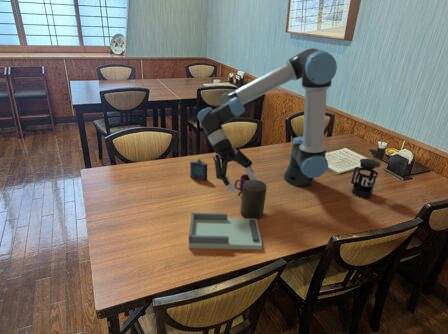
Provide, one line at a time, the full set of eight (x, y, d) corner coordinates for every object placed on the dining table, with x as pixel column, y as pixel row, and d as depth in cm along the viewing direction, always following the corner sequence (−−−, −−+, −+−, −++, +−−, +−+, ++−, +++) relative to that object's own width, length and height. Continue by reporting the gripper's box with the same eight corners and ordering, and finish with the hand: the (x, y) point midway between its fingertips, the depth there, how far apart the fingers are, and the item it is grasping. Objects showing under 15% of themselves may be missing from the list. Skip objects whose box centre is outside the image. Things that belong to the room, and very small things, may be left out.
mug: (255, 192, 146) (257, 179, 143) (236, 195, 143) (237, 182, 140) (250, 185, 152) (251, 173, 149) (231, 188, 149) (232, 175, 146)
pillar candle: (256, 222, 124) (261, 190, 118) (236, 214, 129) (239, 183, 122) (266, 212, 132) (271, 181, 125) (246, 204, 136) (250, 174, 130)
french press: (377, 196, 149) (390, 152, 139) (365, 201, 144) (378, 156, 134) (356, 185, 158) (367, 144, 148) (344, 189, 153) (355, 147, 143)
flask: (189, 177, 156) (189, 158, 152) (191, 175, 159) (191, 156, 154) (206, 181, 154) (206, 161, 149) (208, 178, 156) (208, 159, 152)
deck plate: (256, 222, 124) (257, 213, 122) (261, 249, 110) (262, 239, 108) (191, 221, 123) (191, 211, 121) (188, 248, 108) (188, 237, 107)
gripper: (234, 139, 141) (257, 180, 139) (193, 153, 125) (218, 199, 122) (244, 131, 136) (267, 174, 133) (203, 145, 119) (228, 193, 117)
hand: (244, 186), depth 128 cm, fingers open, 13 cm apart
